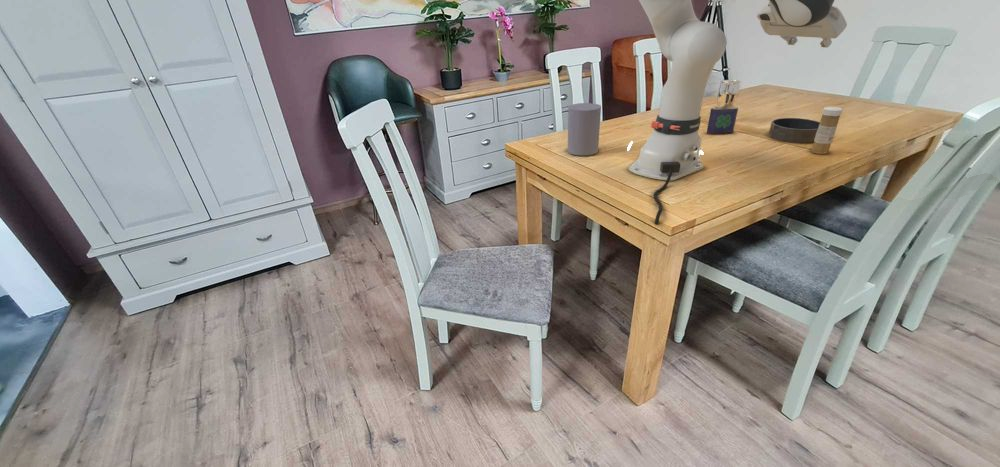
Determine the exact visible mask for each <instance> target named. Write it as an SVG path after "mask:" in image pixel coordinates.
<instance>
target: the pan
mask: <svg viewBox="0 0 1000 467" xmlns="http://www.w3.org/2000/svg"><path fill="white" fill-rule="evenodd" d="M819 124H820V121H817V120H813V119H808V118H801V117H800V118H799V117H781V118H775V119H773V120H771V123H770V126H769V129H768V137H770V139H774V140H776V141H779V142H784V143H789V144H814V139H815V136H816V133H817V130H818V127H819Z"/></svg>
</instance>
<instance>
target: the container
mask: <svg viewBox="0 0 1000 467" xmlns="http://www.w3.org/2000/svg"><path fill="white" fill-rule="evenodd" d="M601 112H602V106H601V105H600V104H598V103H593V102H580V103H574V104H570V105H569V106H568V112H567V114H568V116H567V150H566V151H567V153H568V154H570V155H573V156H575V157H589V156H594V155H596V154H597V153H599V145H600V144H599V143H600V142H599V141H600V130H601V129H600V127H601Z"/></svg>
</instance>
